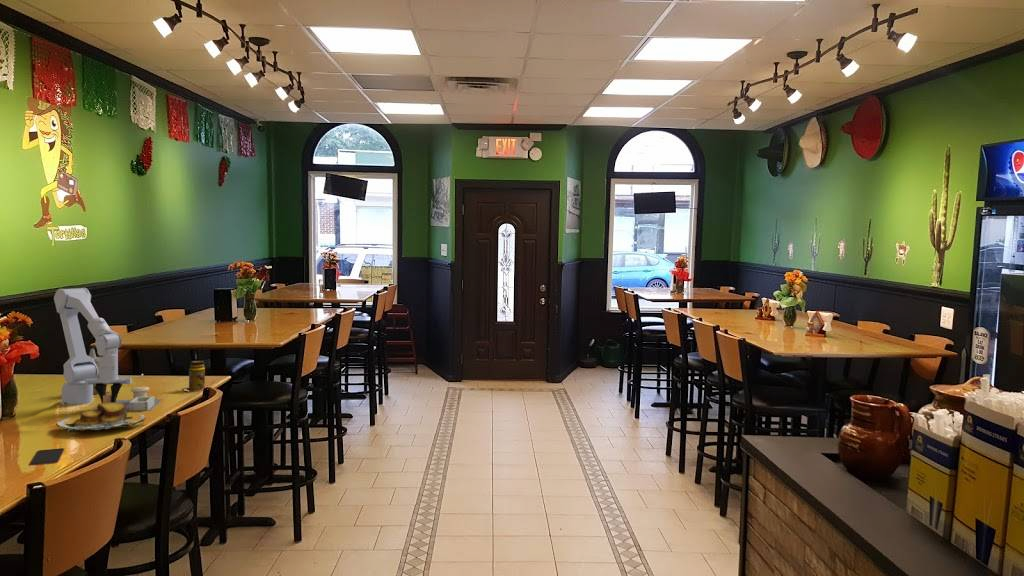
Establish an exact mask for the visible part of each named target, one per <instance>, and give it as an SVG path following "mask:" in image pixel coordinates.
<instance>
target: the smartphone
mask: <svg viewBox="0 0 1024 576" xmlns="http://www.w3.org/2000/svg"><path fill="white" fill-rule="evenodd" d="M64 451H65V448H60V447H59V448H52V449H51V448H50V449H41V450H37V451H36V452H35V454H34V456H33V457H32V459H31V461H29V463H28V466H29V465H35V466H43V465H51V464H52V465H54V464H58V463H59V462H60V460H61V458H62V456H63V453H64Z"/></svg>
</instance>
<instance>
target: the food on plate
mask: <svg viewBox="0 0 1024 576" xmlns="http://www.w3.org/2000/svg"><path fill="white" fill-rule="evenodd" d="M139 416H140V419H139V420H133V421H128V420H132V419H133V416H128V411H127V409H126V406H125V405H124V404H122V403H117V402H111V403H102V402H99V403H98V407H97V409H94V410H92V409H91V410H90V409H89V410H86V411H82V412H81V414H80V418H77V419H75V420H74V422H73V423H66V424H65V422H68V421H70V420H71V419H72V417H70V418H65V419H62V420H60V421H58V422H57V423H56V424H55V426H56V427H57V428H59V427H61V428H65V429H68V430H67V432H70V430H71V431H79V430H80V431H86V430H91V431H92V430H93V431H97V430H98V431H100V430H103V429H105V430H108V429H111V428H112V427H118V426H119V427H120V426H122V427H125V426H129V425H132V424H137V423H139V422H142V421H145V420H146V418H147V416H146V415H145V414H142V413H141V414H140V415H139Z"/></svg>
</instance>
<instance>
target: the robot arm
mask: <svg viewBox="0 0 1024 576" xmlns="http://www.w3.org/2000/svg"><path fill="white" fill-rule="evenodd" d="M91 300H92V294H91V293H90V291H89V289H88V288H86V287H79V288H58V289H57V290H56V291H55V294H54V296H53V301H54V304H55V308H56V313H58V314H59V317H60V321H61V324H62V329H63V333H64V338H65V342H66V346H67V351H68V355H69V358H68V359H67V361H66V362H64V364H63V378H64V380H65V383H63V384H62V387H61V405H62V406H63V405H75V406H76V405H78V406H79V405H88V404H92V403H93V402H94V394H93V384H96V386H95V389H96V391H97V392H98V397H99V398H100V399H99V400H100V403H103V395H105V394H106V393H107V386H108V385H110V391H111V392H110V393H112V400H111V401H112V402H116V400H117V398H118V395H119V392H120V389H121V388H122V386H123V385H131V384H132V382H133V379H132V377H119V348H121V347H122V342H123V341H122V337H121V335H120V333H118V332H116V331H114V330H112V329H111V327H110V325H109V324H108V323H107V322H106V320H105V319H104V318H102V317H99V315H98V313H97V311H96V310H95V308H94V306H93V304H92V303H91ZM79 313H81V315H82V316H83V317H84V318H85V319H86V321H87V328H88V330H89V332H90V333H91V334H92V336H93V337H94V338H95V342H94V344H95V348H96V350H97V352H96V353H97V355H98V357H99V370H98V367H97V365H96V364H95V361H94V359H93V358H91V357H89V354H88V355H87V352H86V347H85V343H84V340H83V335H82V334H83V333H82V331H81V325H80V321H79V318H78V315H79ZM98 374H99V378H97V377H98Z"/></svg>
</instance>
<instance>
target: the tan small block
mask: <svg viewBox="0 0 1024 576" xmlns="http://www.w3.org/2000/svg"><path fill="white" fill-rule="evenodd" d="M111 400H112V393H111V392H106V394H105V395H103V403H111V402H112V401H111Z"/></svg>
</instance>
